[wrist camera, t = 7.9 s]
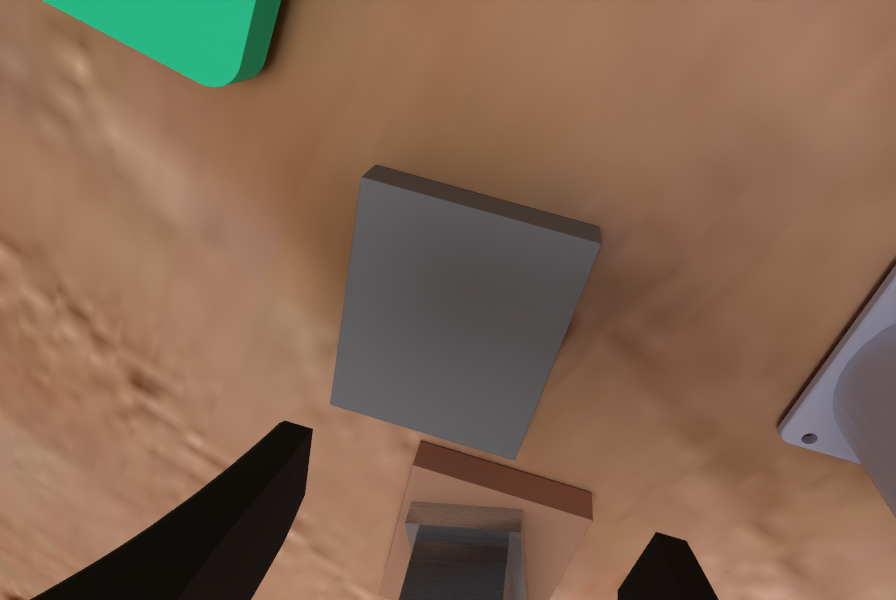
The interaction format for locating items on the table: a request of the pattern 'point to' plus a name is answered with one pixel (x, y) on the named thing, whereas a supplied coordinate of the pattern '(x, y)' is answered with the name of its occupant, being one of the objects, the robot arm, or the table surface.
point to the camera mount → (188, 33)
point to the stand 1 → (455, 309)
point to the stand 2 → (488, 484)
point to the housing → (465, 553)
